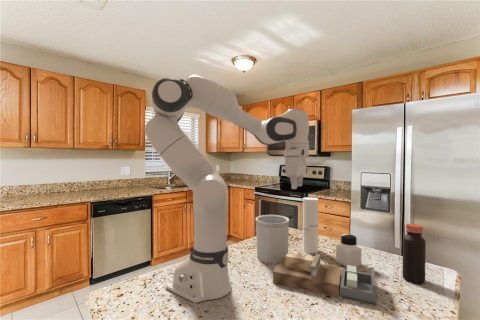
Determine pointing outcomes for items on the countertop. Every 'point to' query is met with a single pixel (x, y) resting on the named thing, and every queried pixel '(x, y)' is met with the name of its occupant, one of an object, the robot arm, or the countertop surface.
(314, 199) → the cylindrical container
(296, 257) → the scraper
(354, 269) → the tile
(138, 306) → the countertop surface
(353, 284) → the tile
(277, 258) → the utensil holder
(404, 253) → the vinegar
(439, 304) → the countertop surface
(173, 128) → the robot arm
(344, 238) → the medicine bottle
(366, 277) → the box
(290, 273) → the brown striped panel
